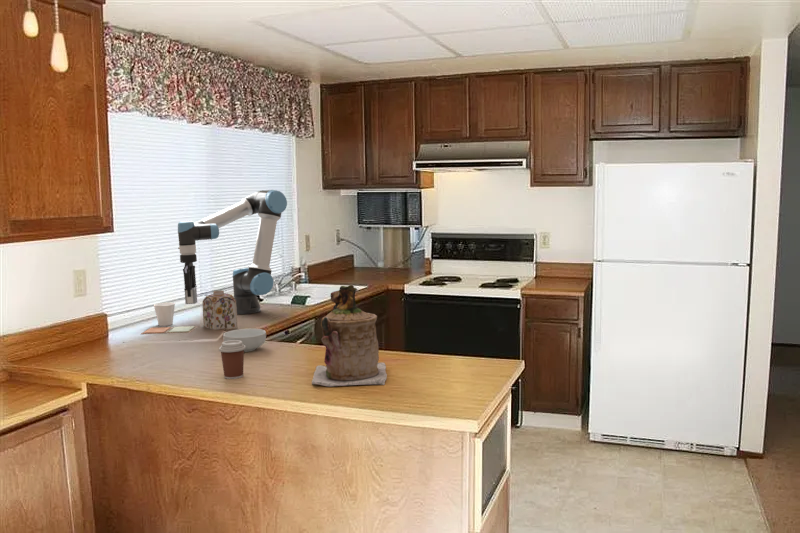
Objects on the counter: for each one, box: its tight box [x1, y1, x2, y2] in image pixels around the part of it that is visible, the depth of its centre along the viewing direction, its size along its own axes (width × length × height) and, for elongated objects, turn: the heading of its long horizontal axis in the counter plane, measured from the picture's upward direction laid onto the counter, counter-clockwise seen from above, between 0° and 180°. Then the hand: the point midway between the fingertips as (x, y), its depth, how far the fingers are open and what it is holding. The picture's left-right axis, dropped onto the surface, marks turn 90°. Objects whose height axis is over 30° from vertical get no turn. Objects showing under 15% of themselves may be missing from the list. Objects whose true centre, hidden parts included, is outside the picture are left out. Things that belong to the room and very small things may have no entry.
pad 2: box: [167, 325, 195, 334], centre depth 320 cm, size 9×11×1 cm
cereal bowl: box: [222, 327, 267, 353], centre depth 281 cm, size 17×17×7 cm
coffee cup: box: [218, 340, 246, 380], centre depth 240 cm, size 9×9×12 cm
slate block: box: [184, 288, 198, 305], centre depth 335 cm, size 4×4×7 cm
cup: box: [153, 301, 176, 327], centre depth 333 cm, size 10×10×11 cm
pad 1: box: [143, 326, 171, 334], centre depth 319 cm, size 9×11×1 cm
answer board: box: [140, 325, 198, 335], centre depth 319 cm, size 22×14×2 cm, turn 93°
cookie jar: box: [311, 284, 388, 387], centre depth 235 cm, size 25×25×32 cm
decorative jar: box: [202, 289, 238, 332], centre depth 324 cm, size 12×12×18 cm
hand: (191, 302), depth 336 cm, fingers closed on slate block, 4 cm apart
